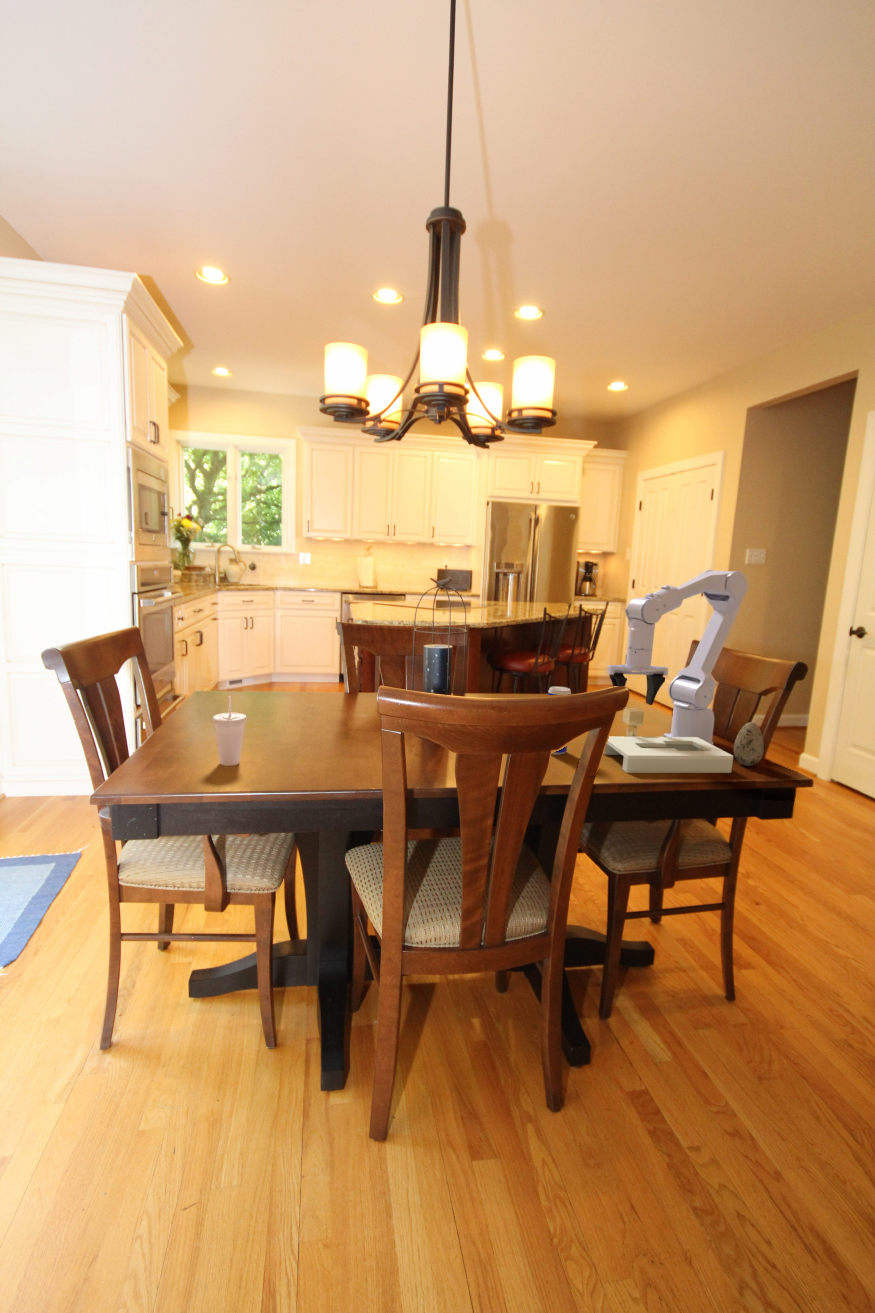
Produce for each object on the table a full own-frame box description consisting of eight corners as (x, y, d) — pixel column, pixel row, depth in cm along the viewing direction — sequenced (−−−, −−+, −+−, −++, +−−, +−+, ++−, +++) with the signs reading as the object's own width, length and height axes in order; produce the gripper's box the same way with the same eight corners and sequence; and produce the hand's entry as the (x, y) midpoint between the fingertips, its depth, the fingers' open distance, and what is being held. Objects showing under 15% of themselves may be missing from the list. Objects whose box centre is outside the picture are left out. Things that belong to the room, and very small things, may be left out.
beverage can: (565, 749, 143) (570, 687, 140) (567, 756, 138) (572, 691, 135) (542, 747, 143) (547, 685, 141) (544, 754, 138) (549, 690, 136)
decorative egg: (750, 761, 141) (755, 719, 139) (766, 769, 135) (773, 726, 133) (726, 760, 140) (731, 718, 138) (742, 769, 134) (747, 725, 133)
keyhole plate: (695, 752, 145) (697, 737, 145) (731, 772, 132) (733, 755, 131) (600, 752, 142) (601, 736, 141) (626, 772, 128) (628, 755, 128)
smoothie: (214, 769, 118) (214, 699, 116) (211, 759, 124) (210, 692, 122) (248, 766, 121) (248, 697, 119) (244, 756, 127) (244, 691, 125)
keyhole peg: (636, 741, 152) (639, 706, 151) (647, 749, 146) (651, 712, 145) (613, 741, 151) (617, 706, 150) (623, 749, 145) (627, 712, 144)
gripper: (618, 650, 140) (612, 707, 142) (676, 651, 142) (670, 708, 144) (605, 645, 147) (600, 700, 149) (662, 647, 149) (656, 701, 151)
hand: (634, 703), depth 147 cm, fingers open, 7 cm apart
